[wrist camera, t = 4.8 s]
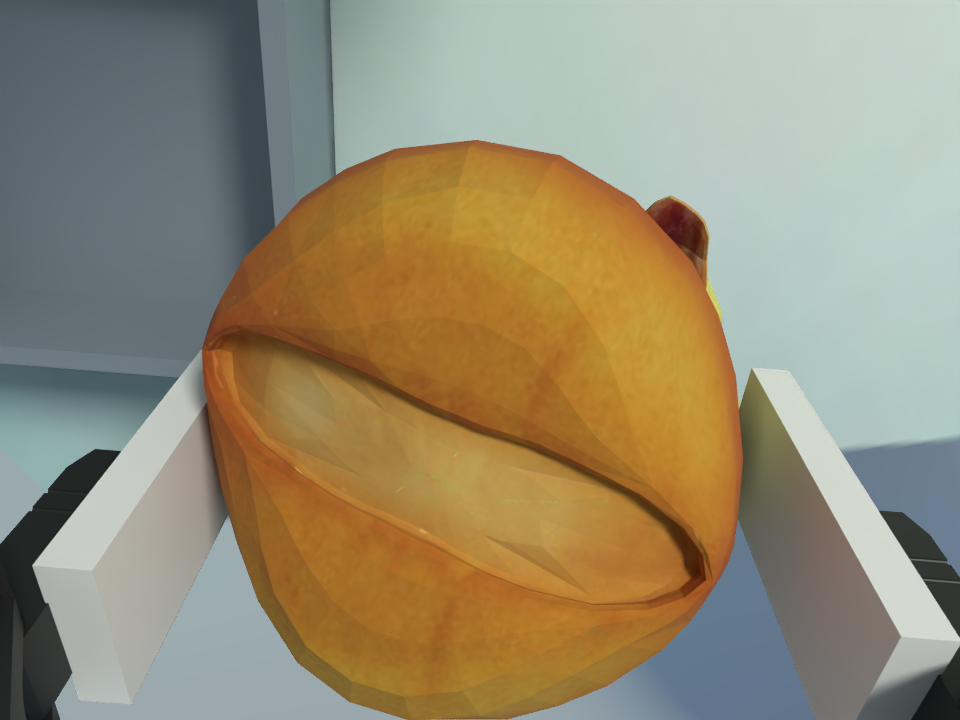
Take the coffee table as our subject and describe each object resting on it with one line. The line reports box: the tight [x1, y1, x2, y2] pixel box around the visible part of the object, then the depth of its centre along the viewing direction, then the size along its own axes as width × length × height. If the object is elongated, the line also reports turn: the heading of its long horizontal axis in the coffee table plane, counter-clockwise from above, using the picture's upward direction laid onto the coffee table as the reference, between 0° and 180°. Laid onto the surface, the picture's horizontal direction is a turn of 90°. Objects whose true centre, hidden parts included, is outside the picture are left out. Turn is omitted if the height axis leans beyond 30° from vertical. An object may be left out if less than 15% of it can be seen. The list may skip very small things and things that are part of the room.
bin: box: [0, 0, 336, 378], centre depth 26 cm, size 18×18×6 cm
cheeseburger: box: [202, 140, 743, 720], centre depth 14 cm, size 10×11×10 cm
